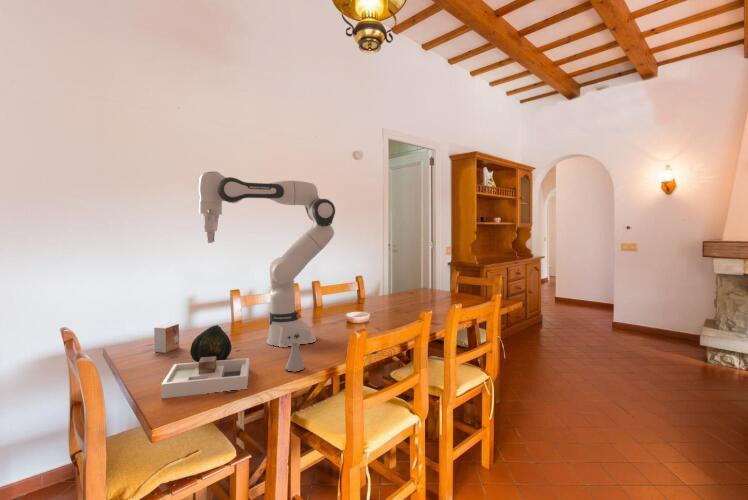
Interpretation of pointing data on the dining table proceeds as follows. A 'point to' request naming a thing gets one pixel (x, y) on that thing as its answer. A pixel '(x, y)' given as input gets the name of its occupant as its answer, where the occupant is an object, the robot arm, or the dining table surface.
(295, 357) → the flask
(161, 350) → the small box
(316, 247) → the robot arm
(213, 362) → the walnut block
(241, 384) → the track
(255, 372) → the dining table surface
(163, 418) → the dining table surface
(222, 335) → the squash
